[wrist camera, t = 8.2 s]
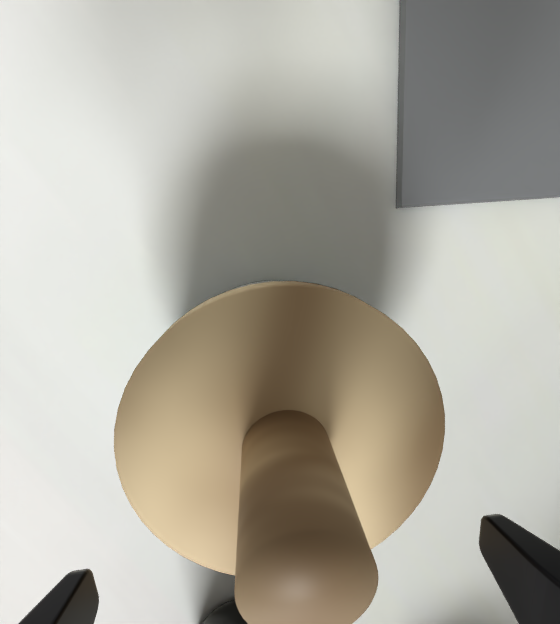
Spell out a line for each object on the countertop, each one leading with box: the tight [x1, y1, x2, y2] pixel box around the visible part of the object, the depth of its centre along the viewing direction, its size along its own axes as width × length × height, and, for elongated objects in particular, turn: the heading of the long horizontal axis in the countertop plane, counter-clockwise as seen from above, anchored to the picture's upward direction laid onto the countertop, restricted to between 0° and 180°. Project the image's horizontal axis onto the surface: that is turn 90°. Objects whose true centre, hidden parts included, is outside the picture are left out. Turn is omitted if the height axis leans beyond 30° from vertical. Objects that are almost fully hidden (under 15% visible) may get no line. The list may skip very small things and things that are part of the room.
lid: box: [114, 281, 445, 624], centre depth 9 cm, size 11×11×6 cm
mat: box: [396, 0, 560, 208], centre depth 14 cm, size 11×11×1 cm
